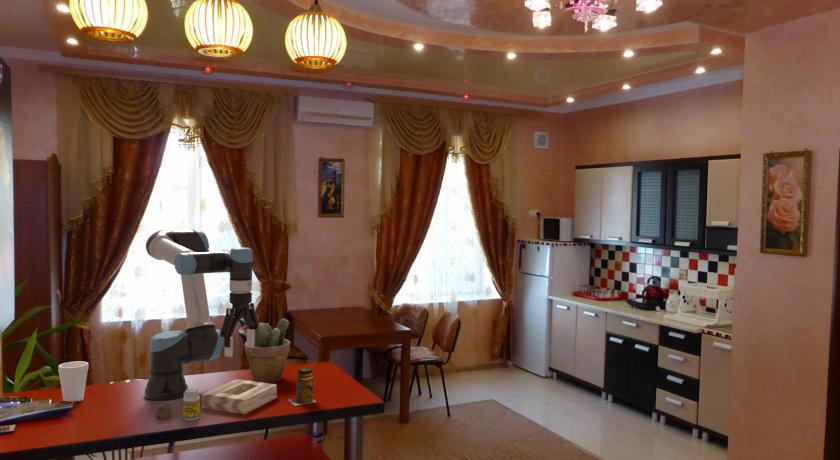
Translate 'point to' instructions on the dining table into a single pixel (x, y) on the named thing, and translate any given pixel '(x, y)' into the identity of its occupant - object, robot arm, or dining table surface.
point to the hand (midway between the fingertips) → (239, 351)
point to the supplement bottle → (191, 405)
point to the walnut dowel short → (163, 411)
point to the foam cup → (73, 380)
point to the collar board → (239, 396)
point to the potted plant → (268, 352)
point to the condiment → (304, 387)
